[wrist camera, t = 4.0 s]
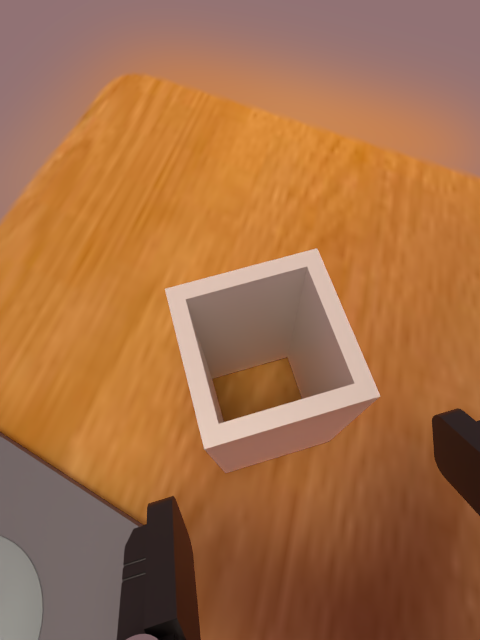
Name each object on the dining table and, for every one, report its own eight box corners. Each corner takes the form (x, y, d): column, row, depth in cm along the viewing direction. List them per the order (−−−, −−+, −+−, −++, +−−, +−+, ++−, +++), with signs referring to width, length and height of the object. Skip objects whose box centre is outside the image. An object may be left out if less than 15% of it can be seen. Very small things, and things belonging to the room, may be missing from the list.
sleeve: (199, 371, 24) (164, 288, 15) (294, 344, 25) (317, 248, 15) (225, 473, 22) (204, 449, 13) (328, 441, 22) (380, 396, 13)
